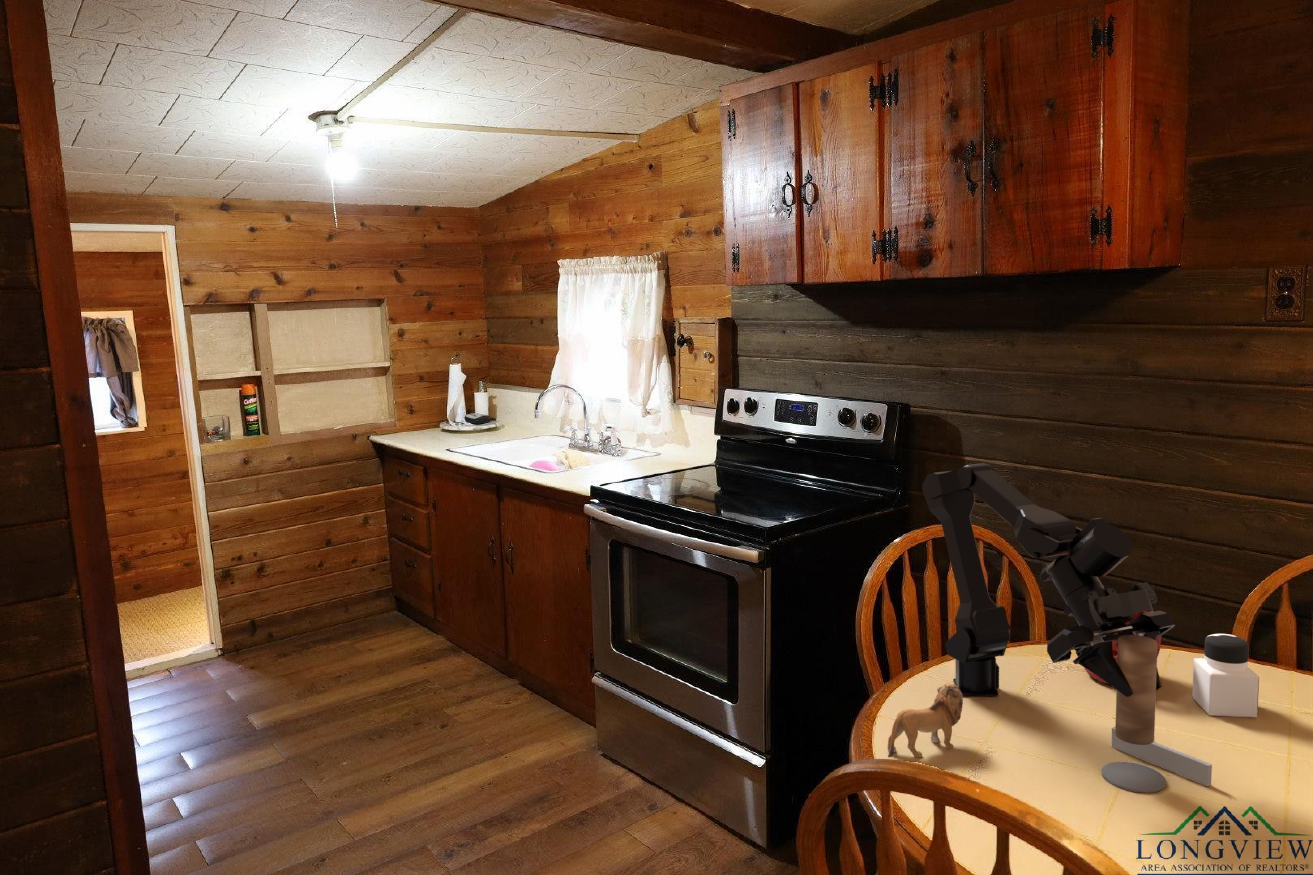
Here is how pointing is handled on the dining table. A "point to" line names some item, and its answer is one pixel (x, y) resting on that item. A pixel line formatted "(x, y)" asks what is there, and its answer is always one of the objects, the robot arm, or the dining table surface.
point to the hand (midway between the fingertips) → (1144, 692)
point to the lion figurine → (929, 719)
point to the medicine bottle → (1225, 678)
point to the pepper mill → (1137, 689)
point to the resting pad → (1133, 777)
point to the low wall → (1167, 759)
